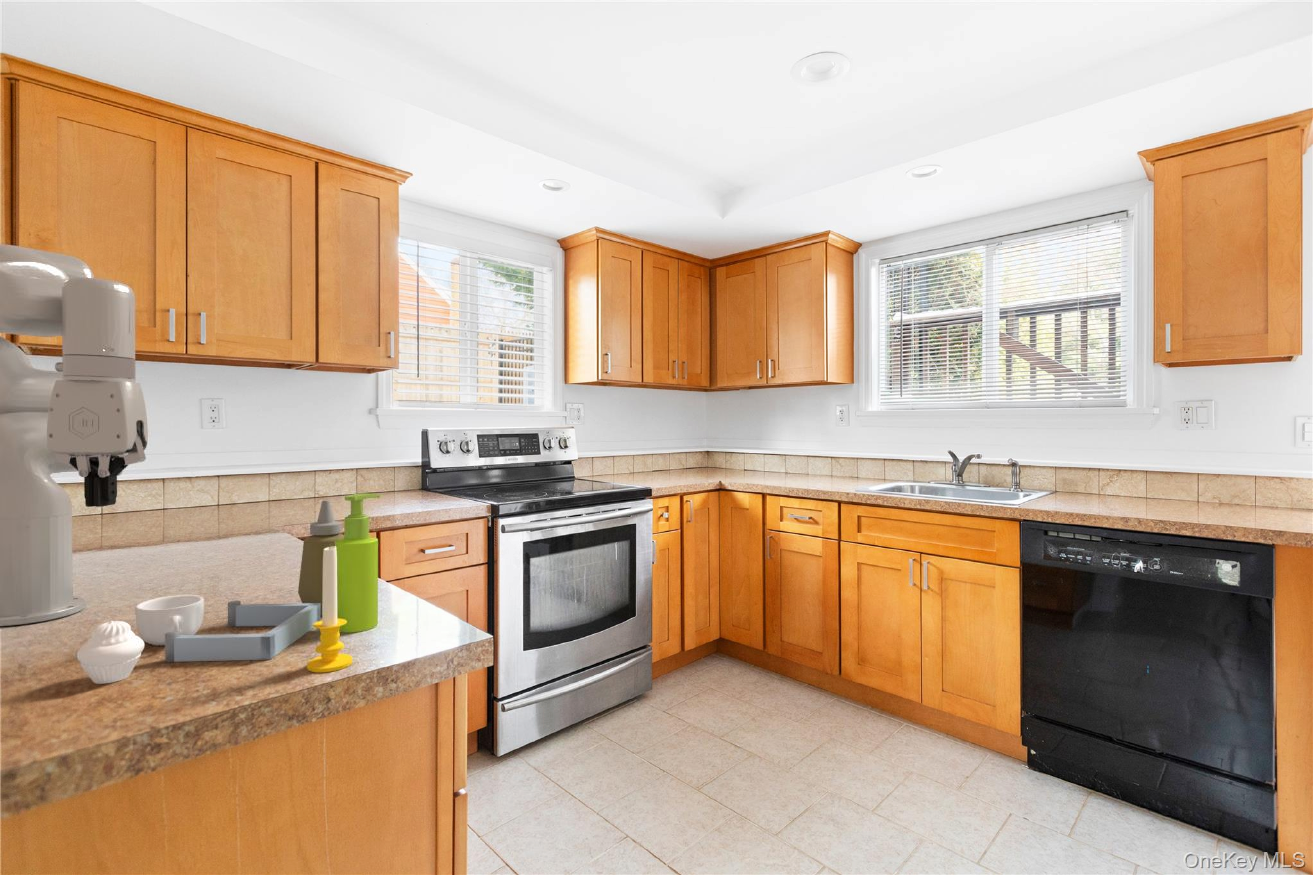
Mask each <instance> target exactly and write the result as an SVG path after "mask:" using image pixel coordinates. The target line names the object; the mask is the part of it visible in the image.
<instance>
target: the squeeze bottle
mask: <svg viewBox="0 0 1313 875" xmlns="http://www.w3.org/2000/svg"><path fill="white" fill-rule="evenodd" d="M342 530H343V523H342V522H341V521H336V520H335V516H334V511H333V508H332V503H331V500H329V499H328V500H322V501H321V504H320V508H319V513H318V518H317V521H316V522H312V523H310V524H309V535H310V536H307V537H305V539H304V540H303V544H302V553H301V554H302V555H301V562H300V572H299V580H298V581H299V582H298V589H297V590H298V591H297V593H298V596H299V598H300V600H301V601H300V602H301V603H321V616H322V600H323V551H324V549H325V548H327V547H329V546H330V547H331V546H335V541H337V540H340V539H343V538H344V534H343V533H342V532H343V531H342Z"/></svg>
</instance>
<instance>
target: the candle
mask: <svg viewBox="0 0 1313 875" xmlns="http://www.w3.org/2000/svg"><path fill="white" fill-rule="evenodd" d="M321 617H322V620H321V621H318V622H316V623H314V624H313V627H314V628H315V629H319V630H320V631H319V632H320V635H319V640H320V644H319V645H317V646H316V647H315V652H316V653H318V654H320V656H316V657H314V658H312V659H310V660H309V661H308V662H307V663H306V670H308V671H309V672H313V673H317V674H319V673H322V674H323V673H332V672H336V671H337V672H338V671H341V670H343V669H346V668H348V667H349V666H351V664H352V663H353V659H354V658H353V656H352V655H351V654H346V653H339V651H342V650H343V649H344V648H345V643H343V642H342V641H340V636H341V634H340V633H341V632H339V629H340V626H342V625H344V624H346V623H347V621H346V620H345V619H337V553H336V546H331V547H330V546H329V547H327V548H325V549H324V551H323V600H322V615H321Z"/></svg>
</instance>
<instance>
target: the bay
mask: <svg viewBox="0 0 1313 875" xmlns="http://www.w3.org/2000/svg"><path fill="white" fill-rule="evenodd" d="M321 617H322V615H321V603H302V602H301V603H297V602H296V603H242V602H241V600H231V601H228V602H227V627H229V628H233V627H234V628H236V627H266V626H267V627H273V626H275V627H273V628H272V629H271V630H268V631H267V632H266V633H237V634H236V633H235V634H231V633H230V634H229V633H228V634H227V633H225V634H224V633H223V634H195V635H181V632H180V631H172V632H168V633H166V634H165V645H164V662H165V663H174V662H175V663H176V662H210V661H211V662H215V661H217V662H218V661H219V662H221V661H257V660H258V661H259V660H260V661H262V660H265V661H266V660H272V659H273V658H275V657H276V656H278V654H280V653H281V652H283V651H284V650H286V649H287V648H288V647H289V646H290V645H292V644H293V643H295V642H296V641H297V640H299V639H300V638H302V637H303V636H304V635H306V634H307V633H308V632H310V631H311V630H312V629H314V628H315V627H313V624H314V623H316V622H318V621H322V620H321Z"/></svg>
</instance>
